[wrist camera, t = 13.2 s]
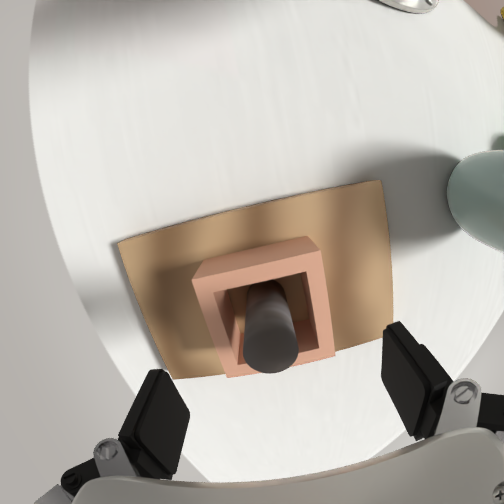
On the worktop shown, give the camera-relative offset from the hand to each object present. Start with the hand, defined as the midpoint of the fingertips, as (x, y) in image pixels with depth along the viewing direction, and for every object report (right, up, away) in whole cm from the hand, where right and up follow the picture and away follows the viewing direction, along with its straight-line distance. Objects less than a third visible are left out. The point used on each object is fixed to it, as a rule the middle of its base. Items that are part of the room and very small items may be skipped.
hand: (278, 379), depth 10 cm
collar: (0, +2, +9) cm, 10 cm away
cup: (+18, +11, +9) cm, 23 cm away
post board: (0, +2, +11) cm, 11 cm away
